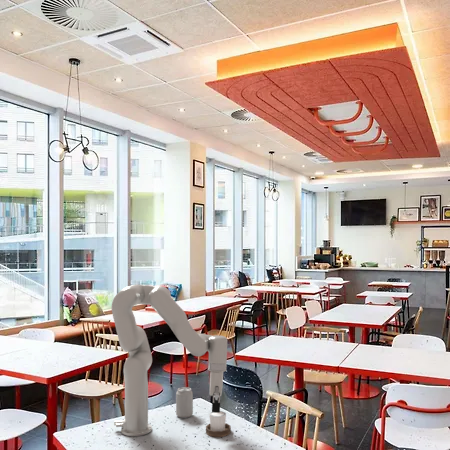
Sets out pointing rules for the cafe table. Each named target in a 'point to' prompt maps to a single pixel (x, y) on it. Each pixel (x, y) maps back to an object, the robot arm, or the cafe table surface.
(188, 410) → the can
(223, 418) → the white tapered cylinder
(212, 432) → the round bowl
